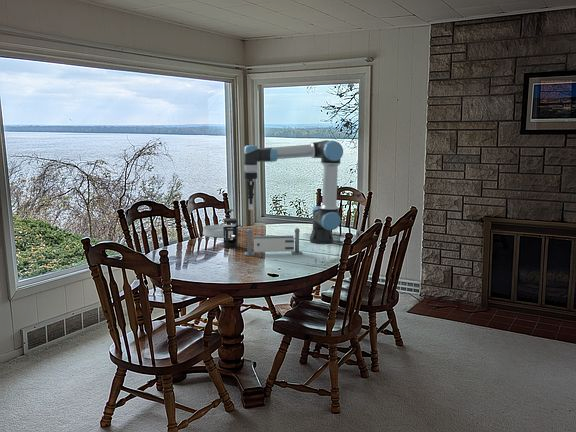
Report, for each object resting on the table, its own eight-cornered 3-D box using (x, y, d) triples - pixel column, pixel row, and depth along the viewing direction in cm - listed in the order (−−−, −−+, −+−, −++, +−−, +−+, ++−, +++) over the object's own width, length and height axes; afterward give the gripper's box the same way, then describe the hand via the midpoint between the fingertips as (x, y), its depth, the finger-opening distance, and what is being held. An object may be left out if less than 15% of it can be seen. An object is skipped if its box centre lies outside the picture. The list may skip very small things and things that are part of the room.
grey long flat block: (293, 250, 312) (293, 235, 310) (294, 251, 309) (294, 236, 307) (253, 251, 309) (253, 236, 308) (254, 252, 306) (254, 237, 305)
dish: (241, 233, 371) (241, 226, 370) (222, 239, 352) (222, 231, 351) (216, 230, 382) (216, 223, 381) (196, 235, 363) (196, 228, 362)
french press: (233, 249, 321) (232, 211, 318) (219, 247, 325) (218, 210, 321) (242, 245, 332) (242, 208, 328) (229, 243, 336) (228, 207, 332)
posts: (301, 252, 314) (301, 227, 312) (302, 254, 308) (302, 229, 306) (244, 253, 311) (244, 227, 308) (244, 255, 305) (244, 229, 302)
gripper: (244, 170, 324) (244, 204, 328) (244, 173, 300) (244, 211, 303) (256, 170, 325) (256, 204, 328) (257, 173, 300) (257, 211, 304)
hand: (250, 207), depth 316 cm, fingers open, 13 cm apart
